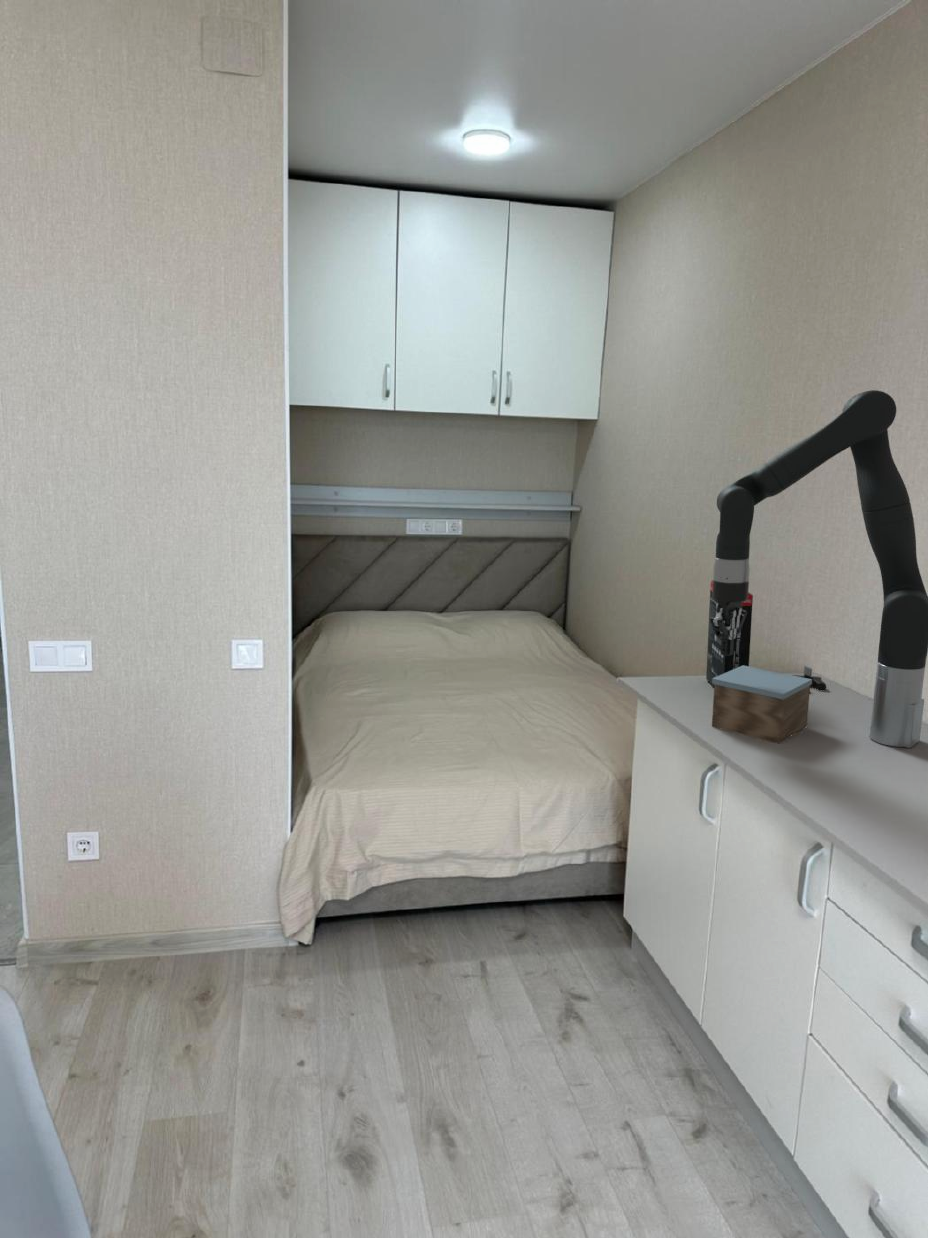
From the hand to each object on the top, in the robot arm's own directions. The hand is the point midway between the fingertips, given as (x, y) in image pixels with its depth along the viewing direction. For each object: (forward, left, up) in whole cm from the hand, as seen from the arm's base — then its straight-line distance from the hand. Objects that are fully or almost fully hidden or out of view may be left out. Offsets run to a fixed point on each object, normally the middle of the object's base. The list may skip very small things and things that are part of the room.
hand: (726, 654), depth 199 cm
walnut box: (-6, -6, -17) cm, 19 cm away
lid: (-6, -6, -7) cm, 11 cm away
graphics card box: (+13, -26, -17) cm, 34 cm away
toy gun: (0, -41, -18) cm, 45 cm away
